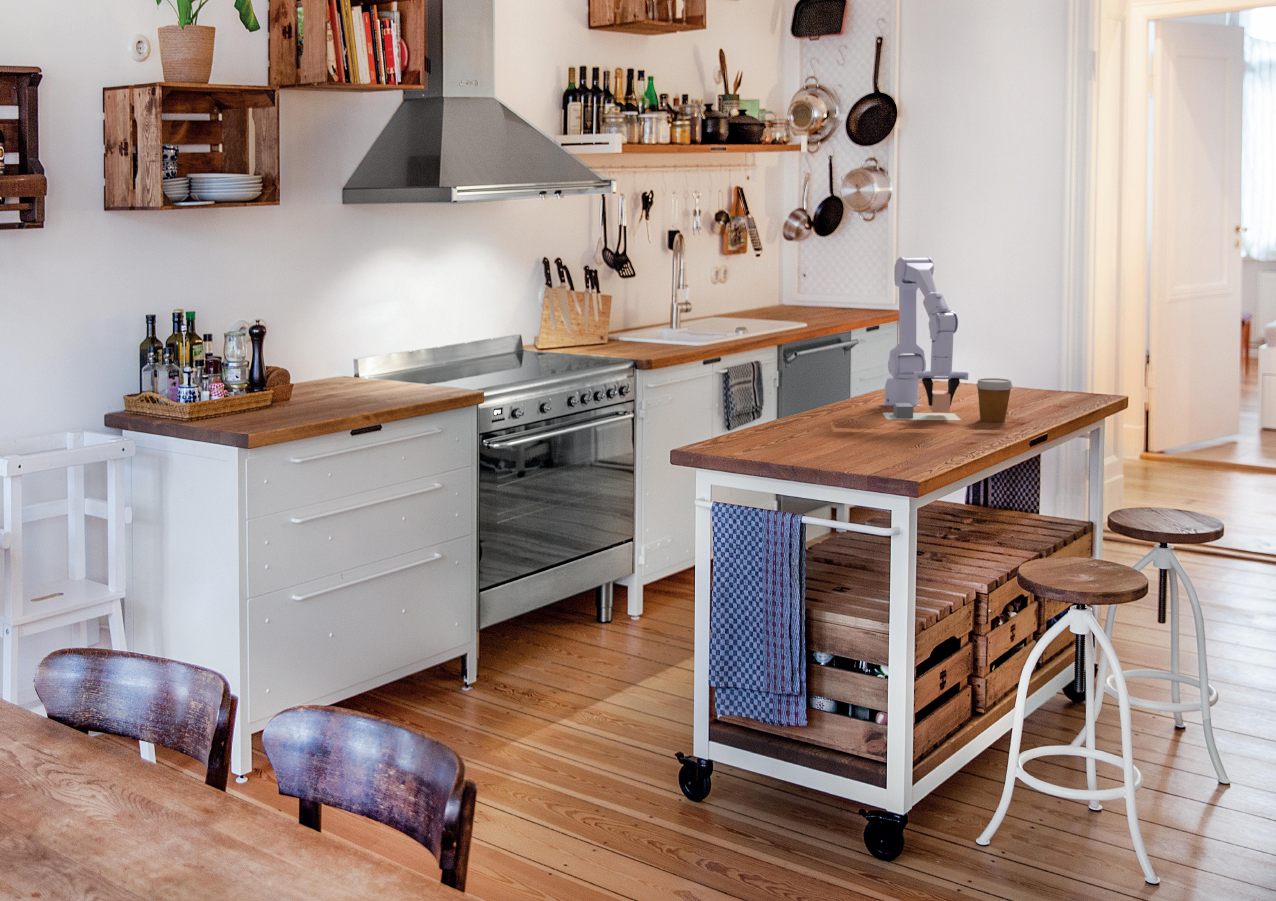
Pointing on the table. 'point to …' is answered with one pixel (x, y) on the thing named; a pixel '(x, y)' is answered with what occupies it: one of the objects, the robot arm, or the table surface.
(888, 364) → the robot arm
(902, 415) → the charcoal brick
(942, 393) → the terracotta brick
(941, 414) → the baseplate
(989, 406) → the disposable coffee cup
